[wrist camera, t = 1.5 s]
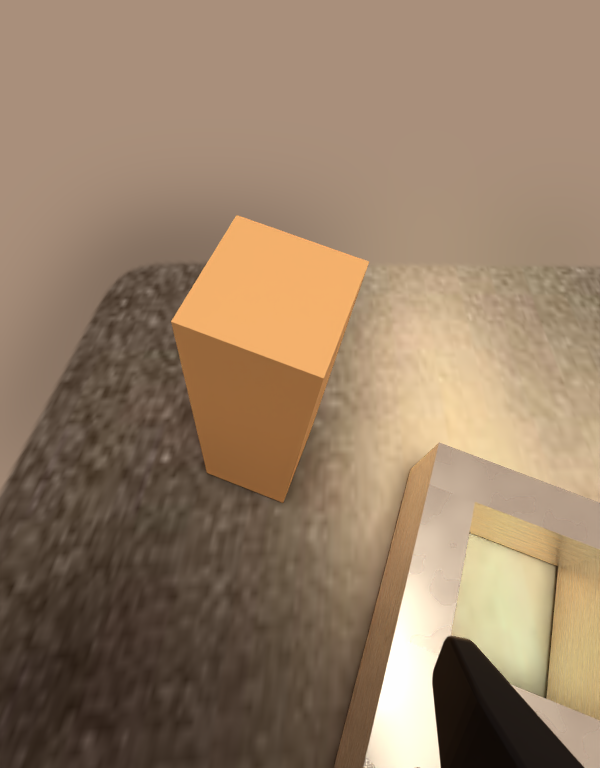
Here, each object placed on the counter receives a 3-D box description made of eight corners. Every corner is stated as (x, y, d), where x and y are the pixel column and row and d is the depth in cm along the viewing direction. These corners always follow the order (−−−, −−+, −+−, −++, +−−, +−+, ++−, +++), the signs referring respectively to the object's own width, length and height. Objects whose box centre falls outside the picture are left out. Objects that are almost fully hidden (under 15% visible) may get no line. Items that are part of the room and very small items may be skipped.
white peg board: (569, 1178, 14) (678, 1364, 11) (265, 1033, 15) (272, 1163, 11) (600, 541, 24) (665, 526, 20) (410, 469, 24) (439, 441, 21)
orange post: (283, 503, 23) (323, 378, 11) (207, 473, 23) (171, 321, 12) (310, 431, 25) (369, 261, 13) (239, 404, 25) (236, 215, 13)
